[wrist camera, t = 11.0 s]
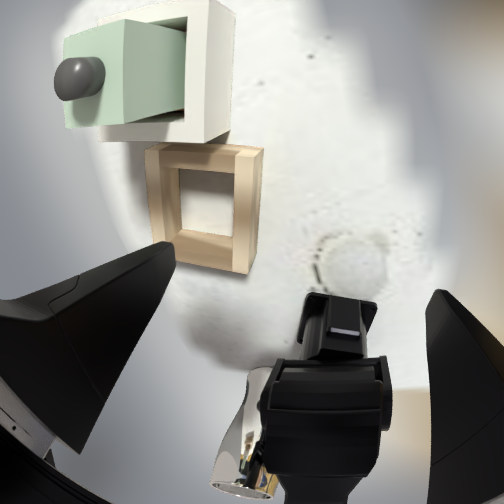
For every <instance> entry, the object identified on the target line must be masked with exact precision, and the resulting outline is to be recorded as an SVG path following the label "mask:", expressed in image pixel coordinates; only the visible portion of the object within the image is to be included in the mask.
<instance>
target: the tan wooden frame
mask: <svg viewBox="0 0 504 504" xmlns="http://www.w3.org/2000/svg"><path fill="white" fill-rule="evenodd" d="M263 151H264V148H262V147H252V146H241V145H230V144H216V143H187V142H161V143H159V144H157V145H154V146H152V147H150V148H148V149H145V150H144V157H145V171H146V183H147V194H148V204H149V213H150V222H151V230H152V238H153V244H155V243H158V242H160V241H166V242H171V243H173V244H174V248H175V258H176V261H181V262H186V263H191V264H196V265H201V266H206V267H211V268H216V269H221V270H227V271H232V272H237V273H242V274H248V272H249V270H250V268H251V265H252V263H253V261H254V258H255V256H256V253H257V239H258V224H259V210H260V196H261V181H262V166H263ZM179 168H182V169H195V170H206V171H216V172H226V173H235V179H234V214H233V237H228V236H222V235H216V234H210V233H204V232H198V231H191V230H185V229H182V223H181V208H180V189H179Z"/></svg>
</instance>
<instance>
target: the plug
mask: <svg viewBox="0 0 504 504" xmlns="http://www.w3.org/2000/svg"><path fill="white" fill-rule="evenodd" d="M186 38H187V33H185V32H182V31H178V30H174V29H170V28H166V27H162V26H158V25H154V24H149V23H144V22H140V21H134V20H129V19H122V20H118V21H115V22H111V23H108V24H104V25H101V26H98V27H95V28H92V29H89V30H86V31H83V32H80V33H77V34H75V35H72V36H69V37H67V38H64V50H63V62H61V64H60V65H59V66H58V68H57V70H56V73H55V77H54V89H55V92H56V94H57V96H58V97H59V98H60V99H61V100H63V101H64V112H65V125H66V129H69V128H78V127H89V126H100V125H115V124H125V123H129V122H132V121H136V120H139V119H143V118H146V117H150V116H154V115H158V114H162V113H166V112H170V111H174V110H178V109H183V108H185V61H186Z"/></svg>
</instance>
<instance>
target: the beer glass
mask: <svg viewBox="0 0 504 504" xmlns="http://www.w3.org/2000/svg"><path fill="white" fill-rule="evenodd" d="M272 369H273V368H271V367H260V368H256V369H254V370H252V371H250V372H249V374H248V376H247V386H246V394H245V397H244V400H243V403H242V405H241V407H240V409H239V411H238V413H237V414H236V416H235V418H234V420H233V421H232V423H231V425H230V427H229V429H228V430H227V432H226V434H225V436H224V438H223V440H222V443H221V446H220V448H219V451H218V454H217V457H216V461H215V464H214V469H213V473H212V477H211V481H210V485H211V486H212V487H213V488H215V489H217V490H219V491H222V492H225V493H228V494H231V495H234V496H238V497H243V498H249V499H255V500H272V499H274V495H275V492H276V489H277V486H278V484H279V480H278V479H277V477H276V475H274V474H268V473H267V471H266V468H265V466H264V463H263V460H262V458H263V452H264V446H265V437H266V430H264V429H263V428H262V426H261V421H260V412H259V411H258V410H257V402H258V401H259V400H260V395H261V393H262V390H263V388H264V386H265V384H266V382H267V380H268V378H269V375H270V373H271V371H272Z"/></svg>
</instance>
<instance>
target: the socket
mask: <svg viewBox="0 0 504 504" xmlns="http://www.w3.org/2000/svg"><path fill="white" fill-rule="evenodd" d="M122 19H129V20H134V21H140V22H144V23H149V24H154V25H158V26H162V27H166V28H170V29H174V30H178V31H182V32H187V38H186V61H185V113H162V114H158V115H154V116H150V117H146V118H143V119H139V120H136V121H132V122H129V123H125V124H115V125H100V126H97V127H98V140H99V142H127V141H151V142H187V143H205V142H207V141H209V140H211V139H213V138H215V137H217V136H219V135H221V134H223V133H225V132H227V131H229V130H230V124H231V98H232V76H233V56H234V37H235V21H236V13H234V12H233V11H231V10H230V9H229V8H227V7H226V6H224V5H223V4H221V3H220V2H218V1H217V0H175V1H169V2H164V3H159V4H154V5H149V6H145V7H141V8H137V9H133V10H129V11H125V12H121V13H118V14H114V15H111V16H108V17H104V18H101V19H98V20H97V27H98V26H101V25H104V24H108V23H111V22H115V21H118V20H122Z"/></svg>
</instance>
